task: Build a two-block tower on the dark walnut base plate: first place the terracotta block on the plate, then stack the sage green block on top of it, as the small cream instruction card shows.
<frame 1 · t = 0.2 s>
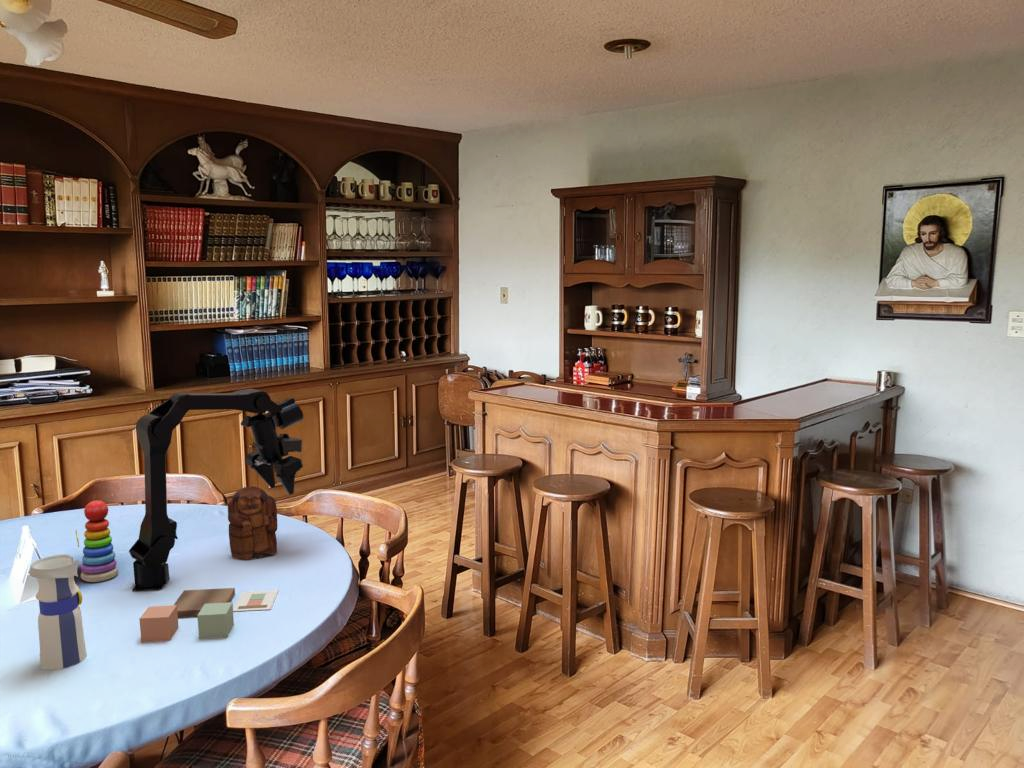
hand: (282, 490, 206), 15 cm above the table, tool pointing down, fingers open, 9 cm apart
instruction card: (256, 601, 174), on the table
walnut plate: (203, 605, 172), on the table
terracotta block: (160, 635, 159), on the table
sage block: (216, 632, 160), on the table
beige and blue vase: (64, 659, 149), on the table
stacking toy: (100, 577, 189), on the table
wooden figurine: (254, 556, 202), on the table
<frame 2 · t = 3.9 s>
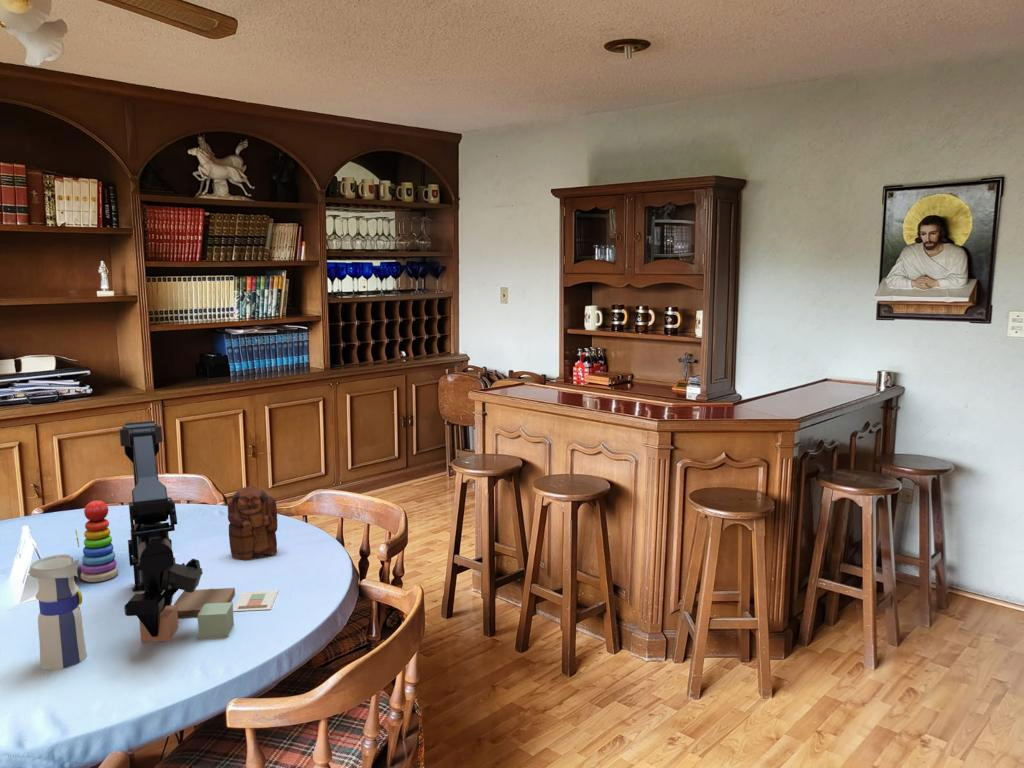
hand: (159, 629, 159), 1 cm above the table, tool pointing down, fingers closed on terracotta block, 6 cm apart
terracotta block: (160, 635, 159), on the table, touching gripper
everything else where it was.
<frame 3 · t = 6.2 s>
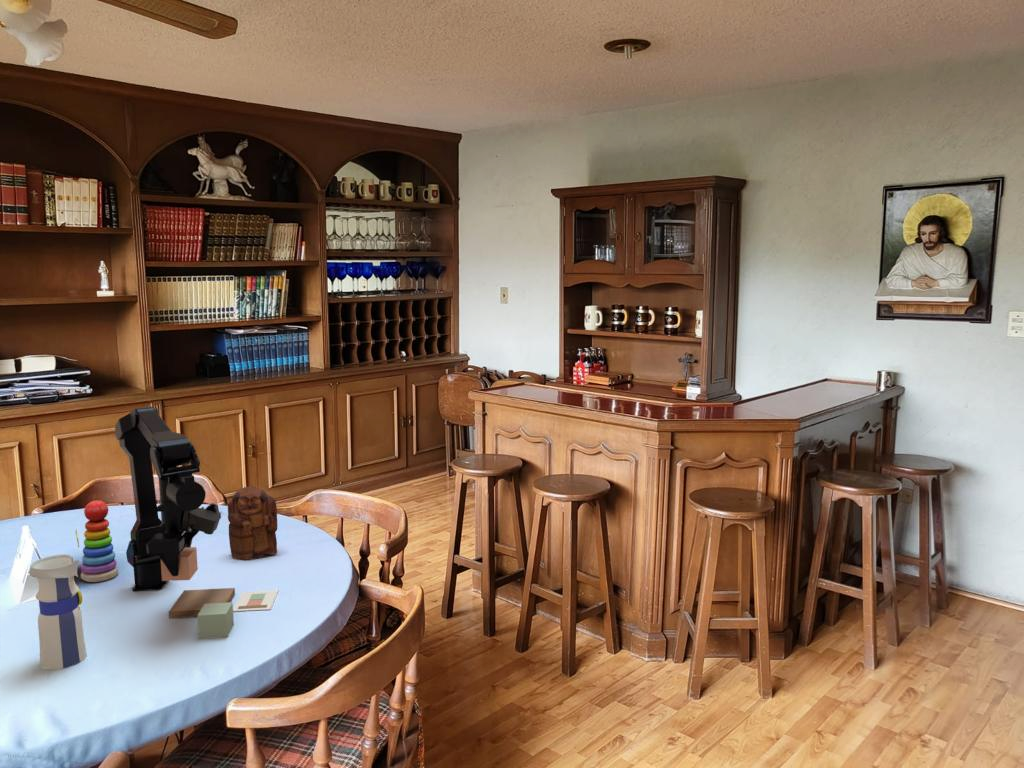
hand: (179, 570, 165), 11 cm above the table, tool pointing down, fingers closed on terracotta block, 5 cm apart
terracotta block: (180, 575, 165), point 10 cm above the table, touching gripper
everything else where it was.
when the fingers open (3 cm above the table, at t = 8.4 s): terracotta block stays where it is, resting on walnut plate.
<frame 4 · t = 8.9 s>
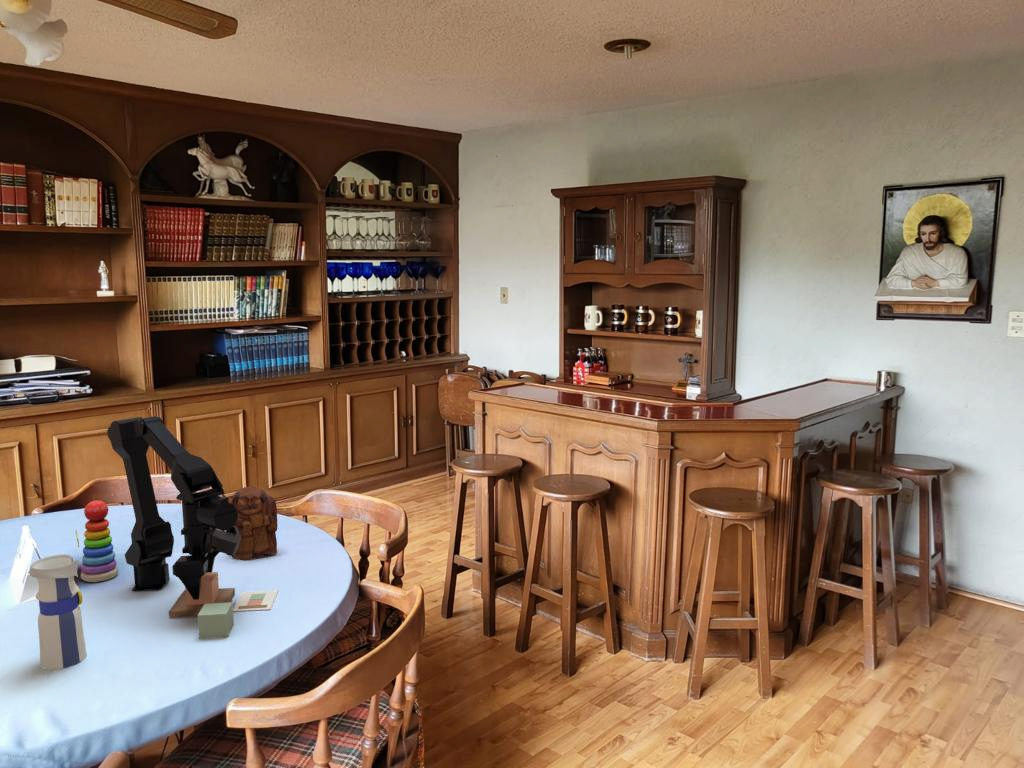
hand: (202, 590, 172), 3 cm above the table, tool pointing down, fingers open, 9 cm apart
terracotta block: (203, 599, 172), point 1 cm above the table, touching walnut plate
everything else where it was.
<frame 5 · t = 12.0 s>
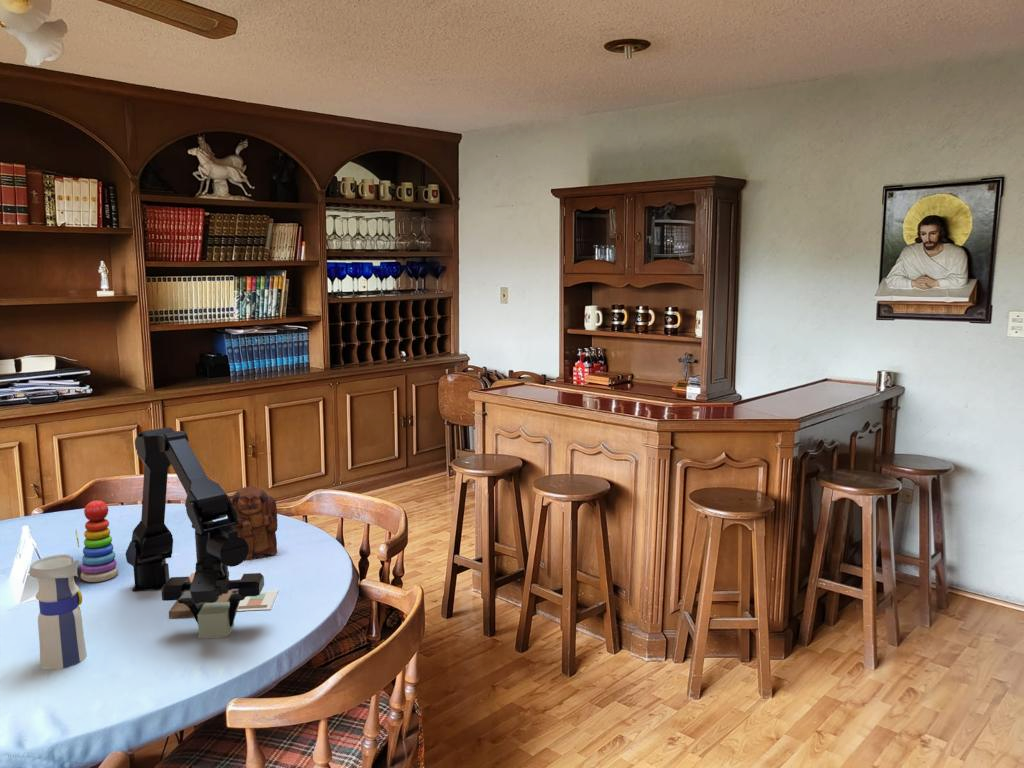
hand: (216, 626, 160), 1 cm above the table, tool pointing down, fingers closed on sage block, 5 cm apart
sage block: (216, 631, 160), on the table, touching gripper
everything else where it was.
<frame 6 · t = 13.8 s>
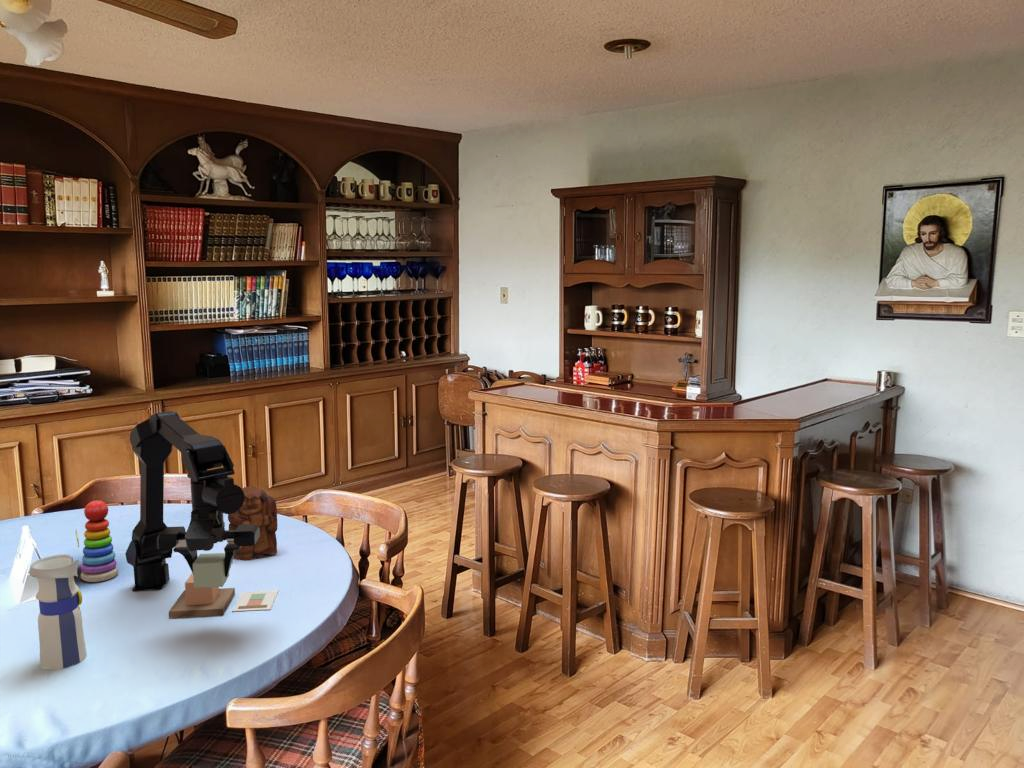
hand: (211, 576, 160), 11 cm above the table, tool pointing down, fingers closed on sage block, 5 cm apart
sage block: (211, 581, 160), point 10 cm above the table, touching gripper
everything else where it was.
when the fingers open (8 cm above the table, at t = 15.9 s): sage block stays where it is, resting on terracotta block.
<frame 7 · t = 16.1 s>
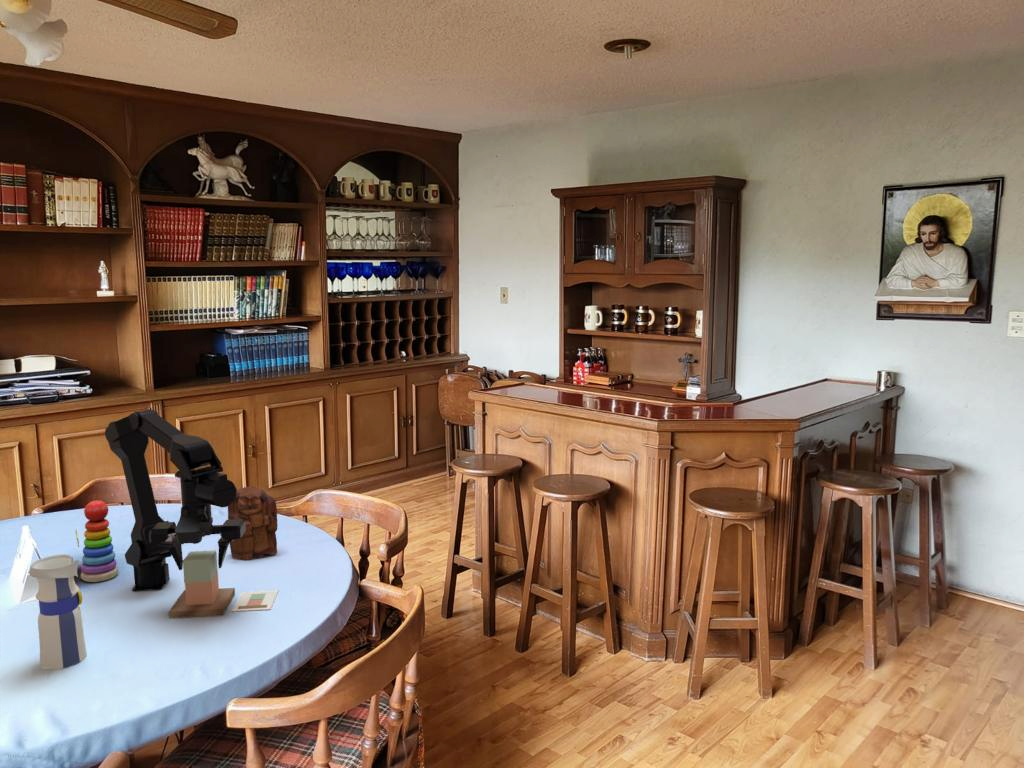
hand: (200, 568, 171), 8 cm above the table, tool pointing down, fingers open, 8 cm apart
terracotta block: (203, 599, 172), point 1 cm above the table, touching sage block, walnut plate
sage block: (201, 577, 171), point 6 cm above the table, touching terracotta block
everything else where it was.
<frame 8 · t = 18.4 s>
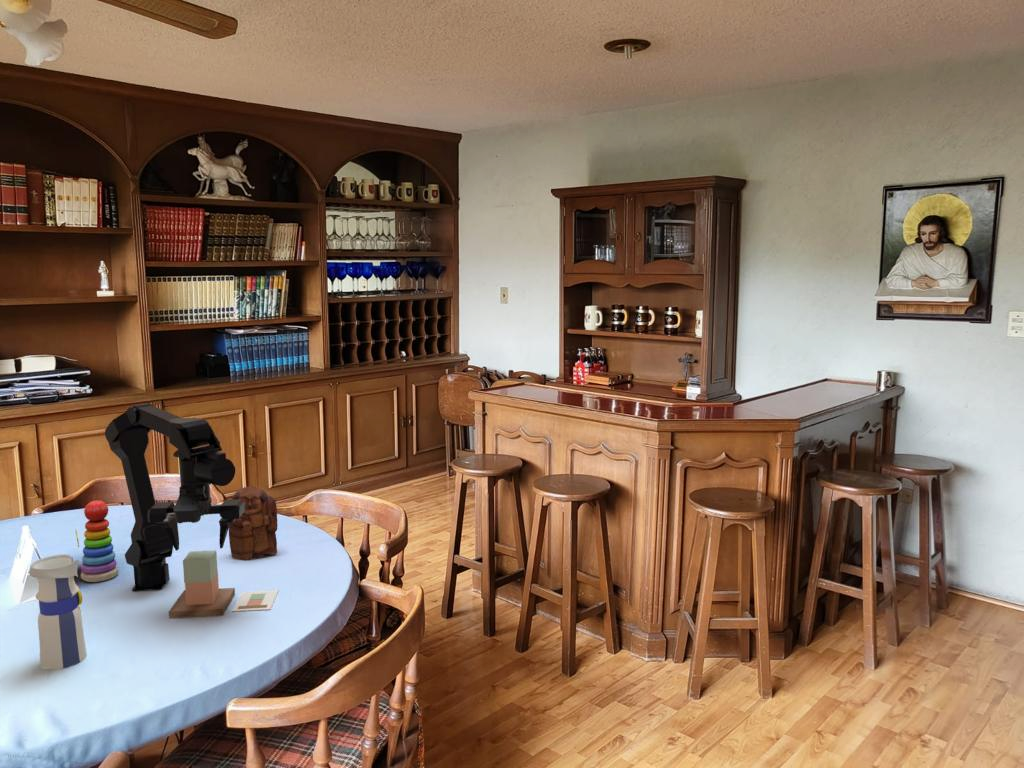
hand: (199, 548, 170), 13 cm above the table, tool pointing down, fingers open, 9 cm apart
nothing on the table moved.
at the end: terracotta block 0.0 cm off-centre on the walnut plate, point 1.5 cm above the walnut plate's base; sage block 0.0 cm off-centre on the walnut plate, point 6.5 cm above the walnut plate's base; sage block tilted 0° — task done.
